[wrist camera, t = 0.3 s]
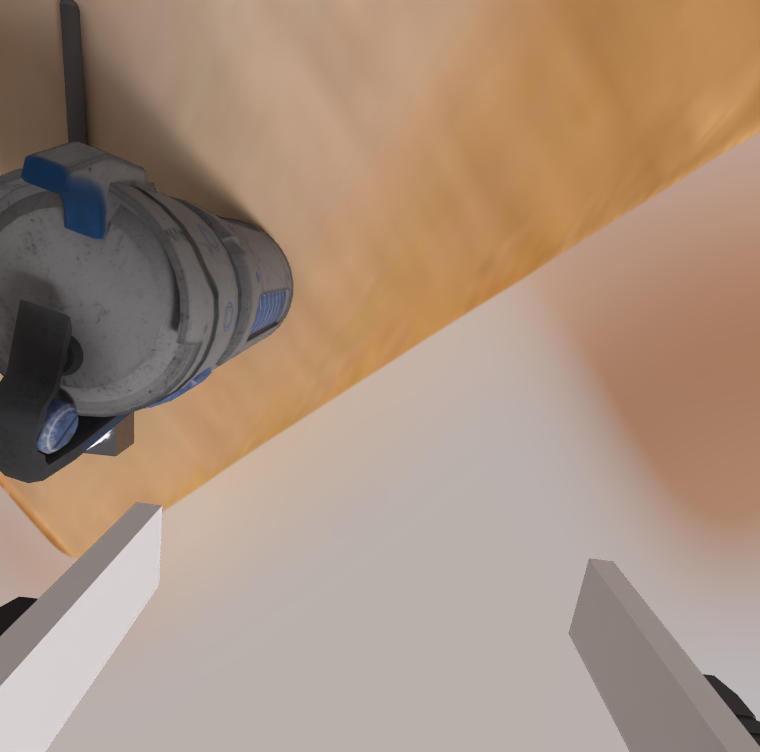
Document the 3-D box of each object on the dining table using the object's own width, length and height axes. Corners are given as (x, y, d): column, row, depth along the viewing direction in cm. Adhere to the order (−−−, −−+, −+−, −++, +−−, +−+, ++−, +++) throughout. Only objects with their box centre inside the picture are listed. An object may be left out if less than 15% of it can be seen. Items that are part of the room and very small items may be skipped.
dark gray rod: (66, 2, 36) (55, -7, 34) (82, 3, 36) (72, -6, 34) (75, 162, 38) (66, 159, 37) (91, 164, 38) (81, 160, 37)
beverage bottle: (155, 345, 41) (-167, 456, 17) (196, 194, 39) (-117, 65, 14) (267, 384, 42) (114, 545, 18) (314, 239, 39) (212, 191, 15)
